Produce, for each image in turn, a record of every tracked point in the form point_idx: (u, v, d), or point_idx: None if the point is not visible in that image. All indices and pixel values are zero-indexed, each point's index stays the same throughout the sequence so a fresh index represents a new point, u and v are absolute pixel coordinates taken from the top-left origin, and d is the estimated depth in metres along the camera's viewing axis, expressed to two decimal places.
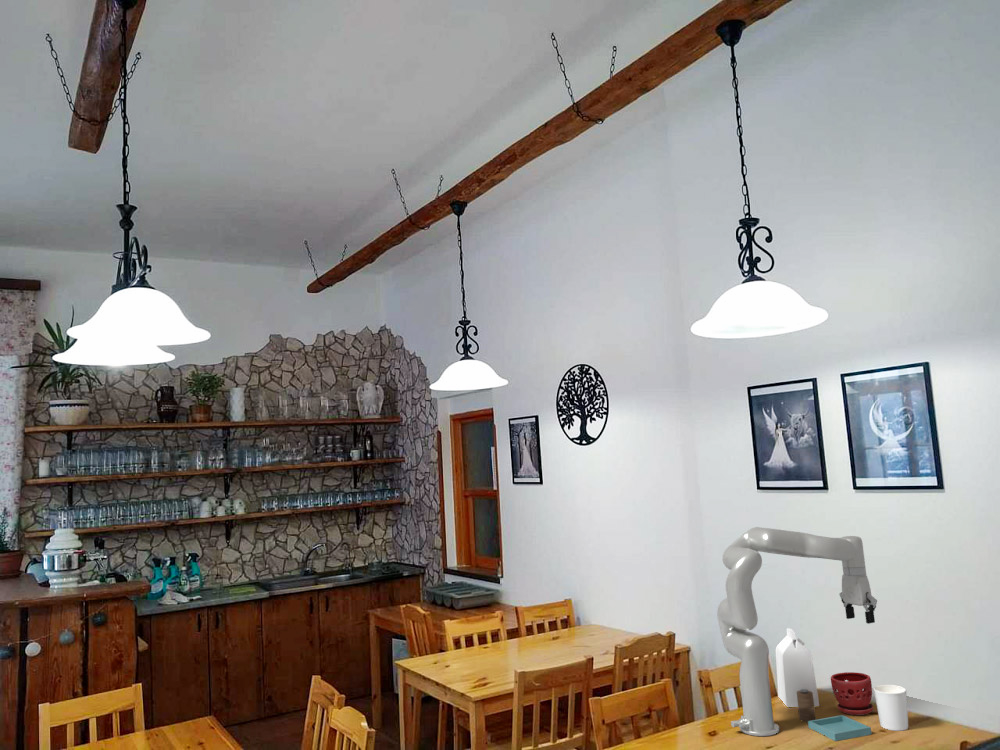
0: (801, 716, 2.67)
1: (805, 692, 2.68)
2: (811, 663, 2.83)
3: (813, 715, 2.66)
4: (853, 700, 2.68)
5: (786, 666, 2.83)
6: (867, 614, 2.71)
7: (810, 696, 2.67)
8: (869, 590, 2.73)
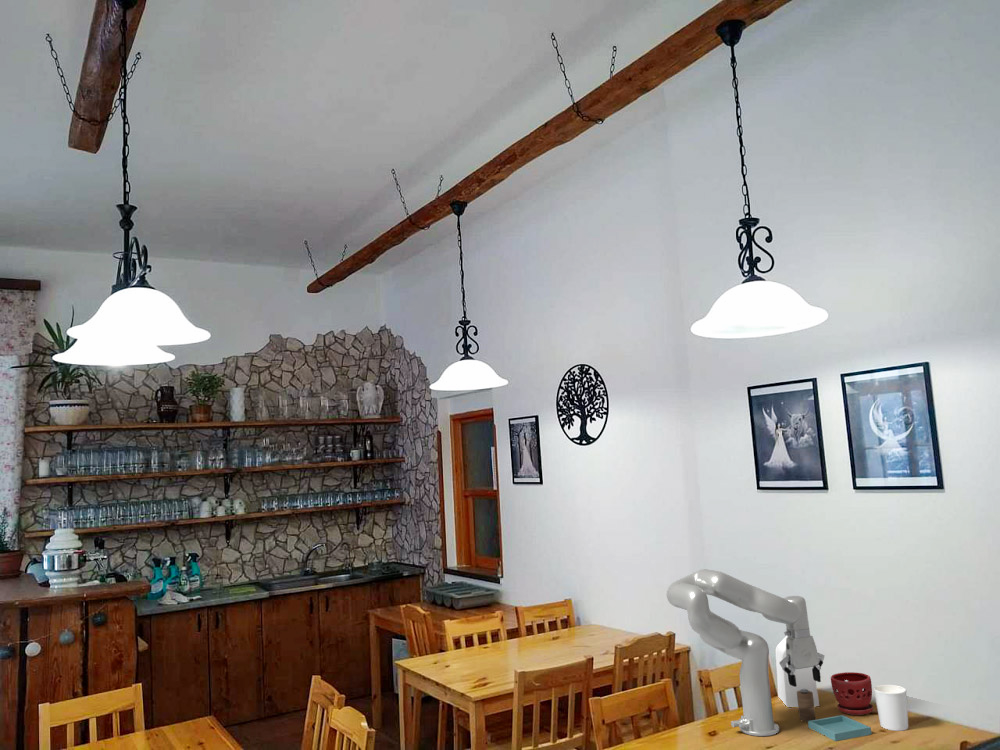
0: (801, 716, 2.67)
1: (805, 692, 2.68)
2: None
3: (813, 715, 2.66)
4: (853, 700, 2.68)
5: (786, 666, 2.83)
6: None
7: (810, 696, 2.67)
8: None
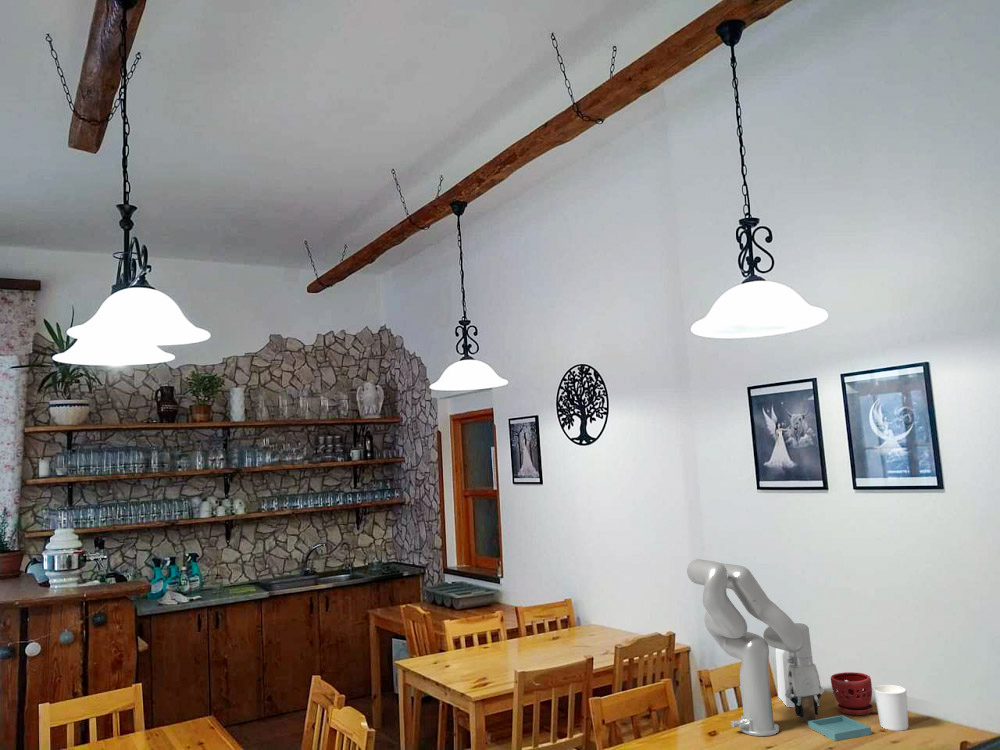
0: None
1: None
2: None
3: (813, 715, 2.66)
4: (853, 700, 2.68)
5: (786, 666, 2.83)
6: None
7: (810, 696, 2.67)
8: None
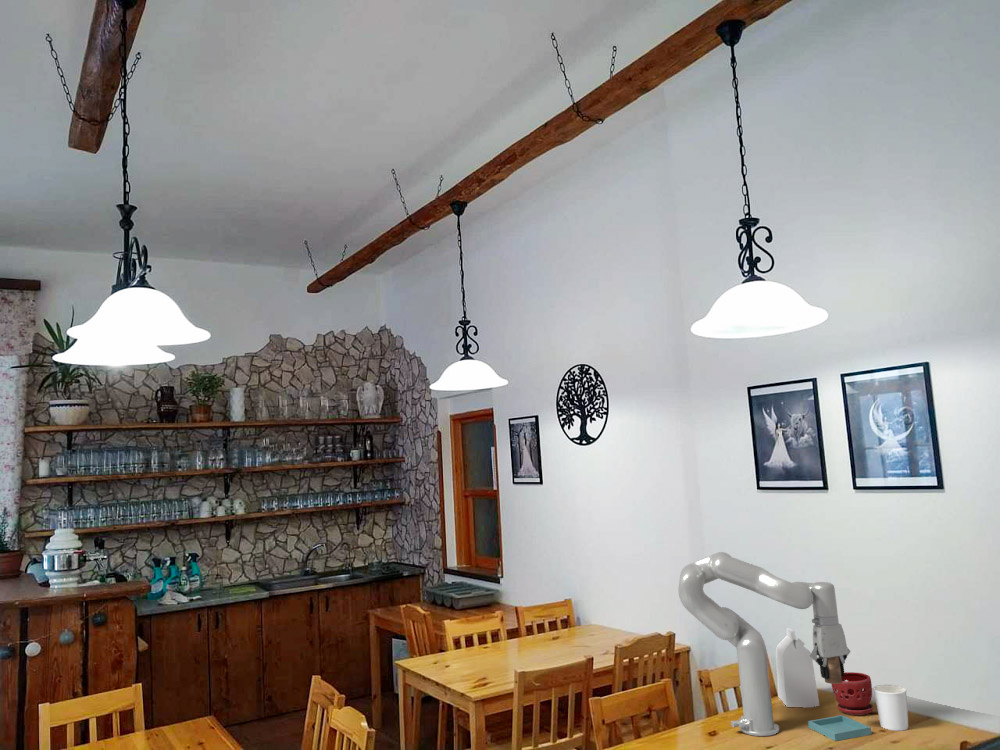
0: None
1: None
2: (811, 663, 2.83)
3: (839, 677, 2.55)
4: (853, 700, 2.68)
5: (786, 666, 2.83)
6: None
7: (836, 657, 2.56)
8: None
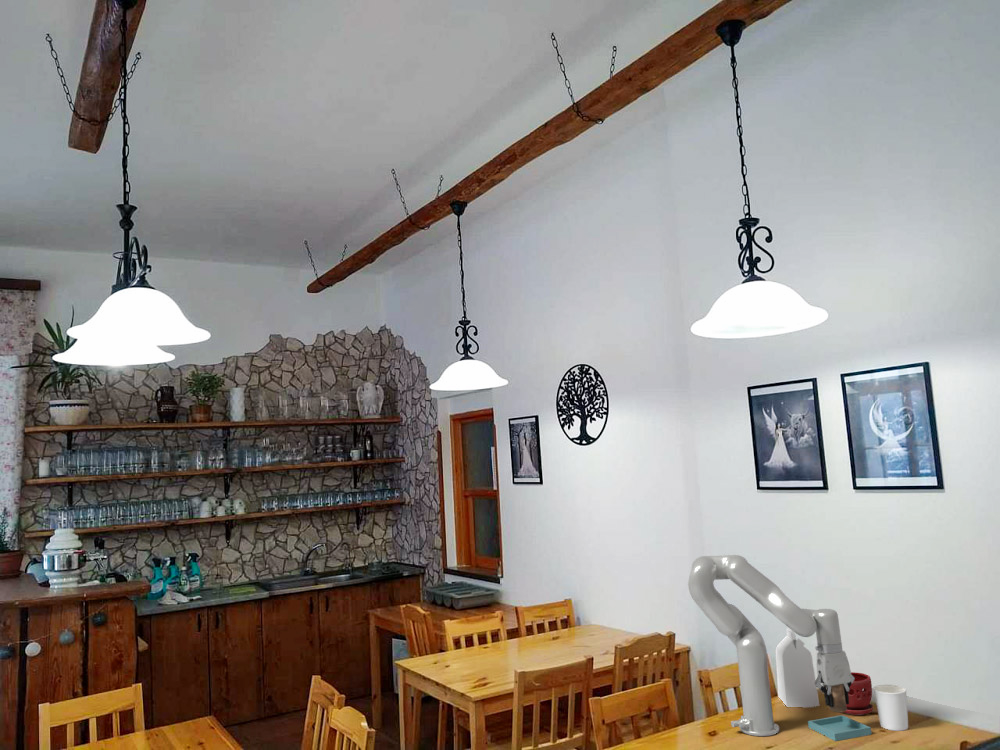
0: None
1: None
2: (811, 663, 2.83)
3: (844, 704, 2.54)
4: (853, 700, 2.68)
5: (786, 666, 2.83)
6: None
7: (840, 685, 2.54)
8: None
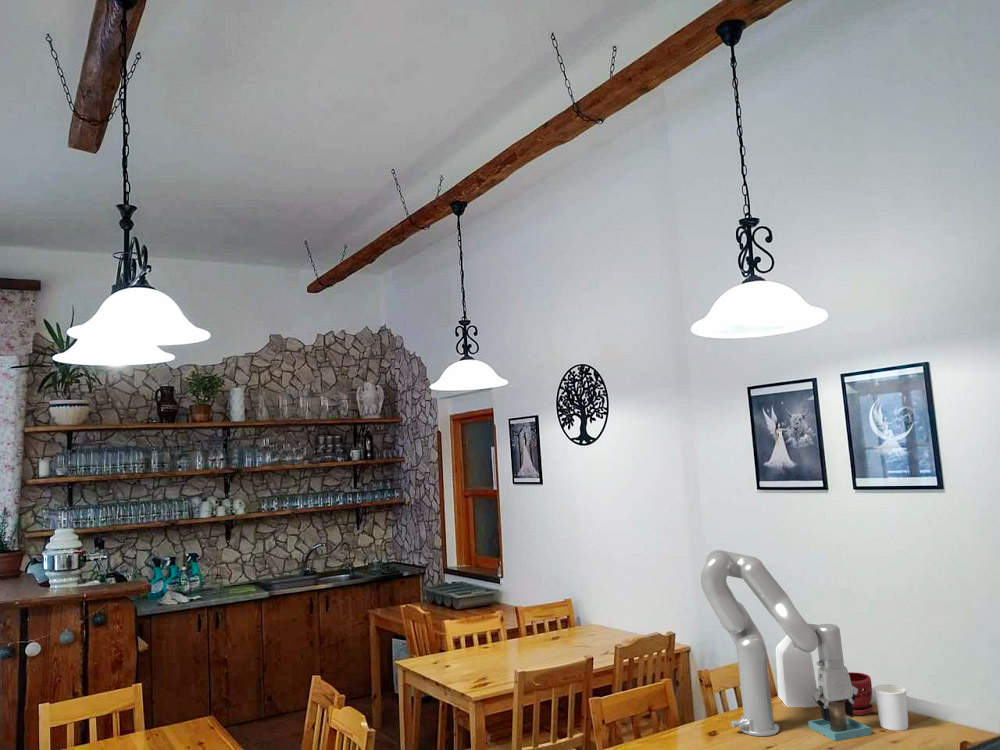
0: (832, 725, 2.54)
1: None
2: (811, 663, 2.83)
3: (845, 724, 2.53)
4: None
5: (786, 666, 2.83)
6: None
7: (841, 704, 2.54)
8: None
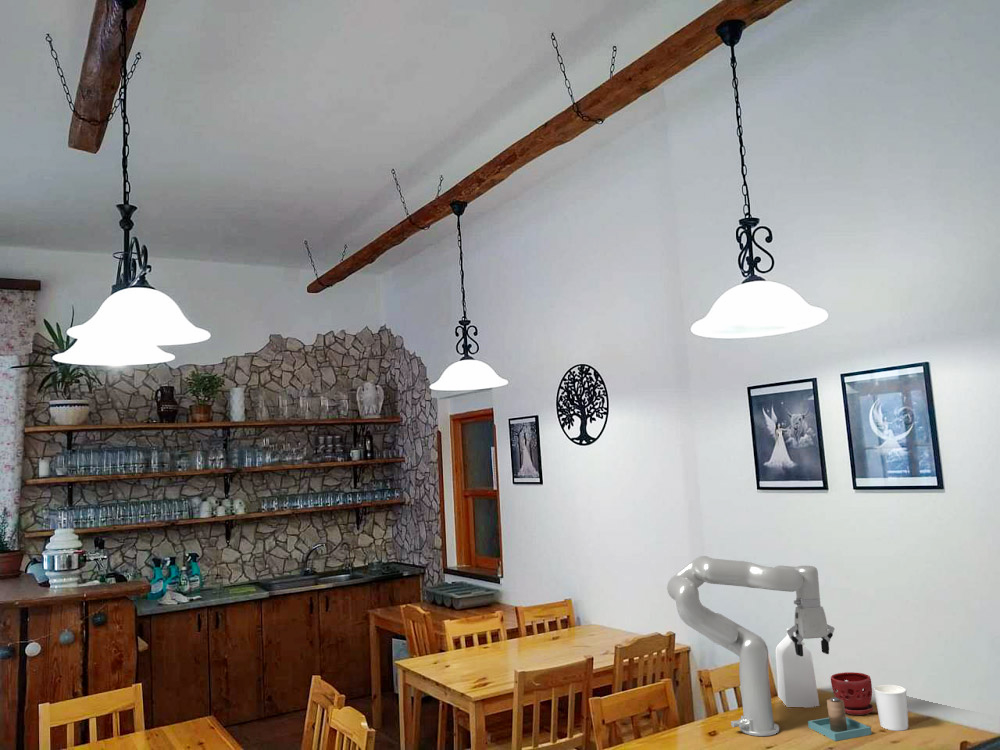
0: (832, 726, 2.54)
1: (836, 700, 2.55)
2: (811, 663, 2.83)
3: (845, 725, 2.53)
4: (853, 700, 2.68)
5: (786, 666, 2.83)
6: None
7: (841, 705, 2.54)
8: None
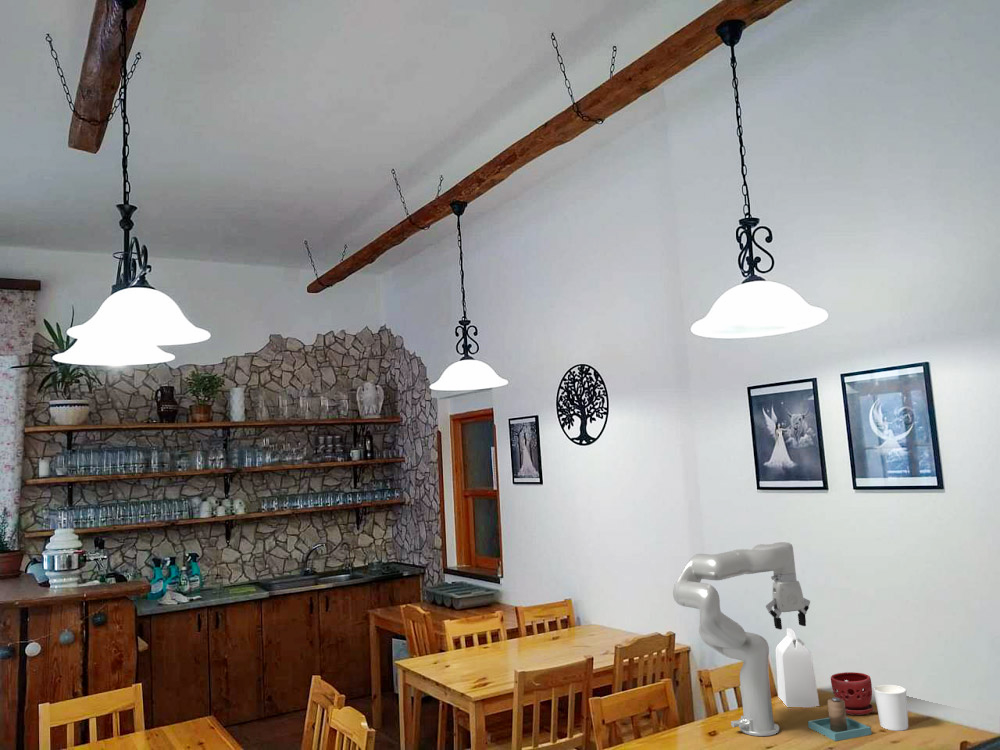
0: (832, 726, 2.54)
1: (837, 701, 2.55)
2: (811, 663, 2.83)
3: (845, 725, 2.53)
4: (853, 700, 2.68)
5: (786, 666, 2.83)
6: None
7: (842, 705, 2.54)
8: None
